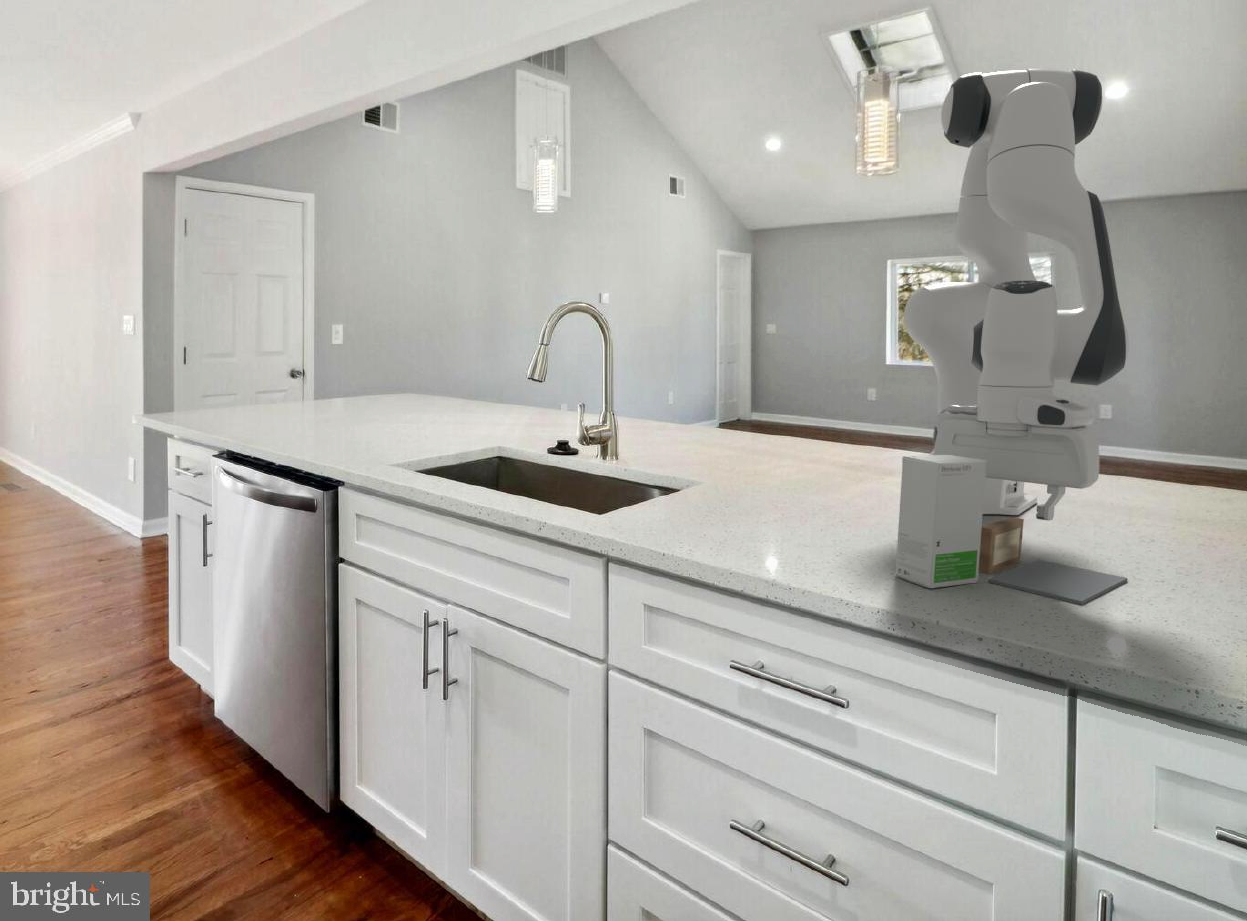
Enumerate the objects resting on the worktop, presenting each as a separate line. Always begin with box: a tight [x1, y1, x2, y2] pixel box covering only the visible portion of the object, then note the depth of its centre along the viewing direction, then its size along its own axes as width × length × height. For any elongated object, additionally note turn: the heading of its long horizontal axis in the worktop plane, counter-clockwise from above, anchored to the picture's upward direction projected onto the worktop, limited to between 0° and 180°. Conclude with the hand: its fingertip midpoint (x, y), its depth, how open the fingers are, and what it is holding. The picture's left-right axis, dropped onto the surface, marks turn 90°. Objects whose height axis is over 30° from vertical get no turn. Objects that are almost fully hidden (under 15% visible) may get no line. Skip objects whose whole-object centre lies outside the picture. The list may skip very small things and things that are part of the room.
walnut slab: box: [978, 516, 1025, 575], centre depth 110 cm, size 9×2×6 cm, turn 130°
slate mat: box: [987, 558, 1128, 605], centre depth 103 cm, size 14×11×1 cm
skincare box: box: [895, 454, 987, 589], centre depth 103 cm, size 8×7×16 cm
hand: (1007, 513), depth 108 cm, fingers open, 8 cm apart
